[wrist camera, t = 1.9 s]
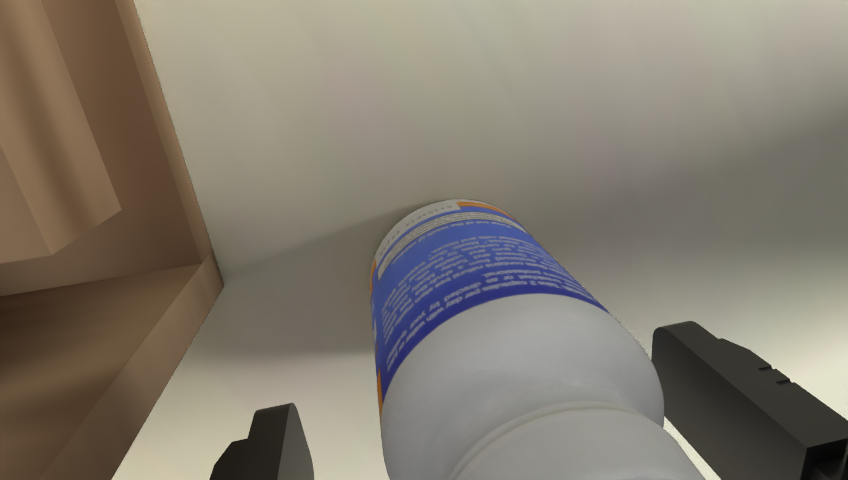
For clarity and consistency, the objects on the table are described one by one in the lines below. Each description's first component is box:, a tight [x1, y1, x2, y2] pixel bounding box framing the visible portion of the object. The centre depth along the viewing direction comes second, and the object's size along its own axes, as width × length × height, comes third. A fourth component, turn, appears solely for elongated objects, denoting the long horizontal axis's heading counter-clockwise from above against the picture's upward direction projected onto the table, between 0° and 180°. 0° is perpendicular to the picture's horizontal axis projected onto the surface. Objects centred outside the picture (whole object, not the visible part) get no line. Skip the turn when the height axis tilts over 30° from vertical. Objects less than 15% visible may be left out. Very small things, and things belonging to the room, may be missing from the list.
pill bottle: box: [370, 199, 706, 480], centre depth 11 cm, size 6×5×10 cm
